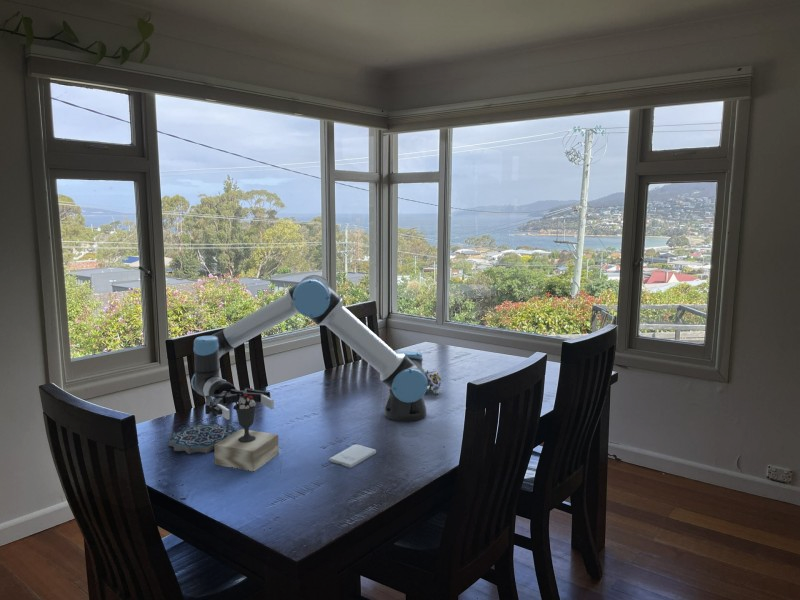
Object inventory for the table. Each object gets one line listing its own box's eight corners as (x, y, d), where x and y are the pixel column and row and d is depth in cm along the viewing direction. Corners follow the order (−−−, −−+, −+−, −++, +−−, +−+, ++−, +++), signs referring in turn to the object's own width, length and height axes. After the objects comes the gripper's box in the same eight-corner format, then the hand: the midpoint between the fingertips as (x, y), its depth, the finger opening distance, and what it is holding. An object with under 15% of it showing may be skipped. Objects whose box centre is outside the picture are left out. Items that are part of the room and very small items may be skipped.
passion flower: (435, 407, 232) (438, 389, 224) (409, 400, 234) (411, 382, 226) (442, 385, 240) (444, 367, 232) (416, 379, 242) (418, 361, 233)
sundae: (263, 436, 171) (261, 387, 169) (250, 444, 165) (248, 393, 163) (244, 433, 173) (241, 385, 171) (230, 441, 167) (228, 391, 165)
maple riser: (278, 453, 174) (278, 434, 173) (254, 471, 162) (253, 451, 161) (241, 447, 178) (241, 428, 177) (215, 464, 166) (214, 444, 165)
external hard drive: (376, 454, 175) (350, 469, 165) (354, 448, 179) (328, 462, 169) (376, 449, 175) (350, 464, 164) (354, 443, 179) (328, 457, 169)
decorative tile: (232, 452, 175) (232, 444, 175) (163, 456, 172) (163, 449, 172) (239, 428, 195) (239, 421, 194) (177, 431, 191) (176, 424, 191)
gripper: (257, 395, 190) (289, 412, 174) (180, 411, 173) (208, 432, 158) (256, 373, 188) (289, 388, 172) (179, 387, 172) (207, 406, 156)
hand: (251, 409), depth 165 cm, fingers open, 13 cm apart
